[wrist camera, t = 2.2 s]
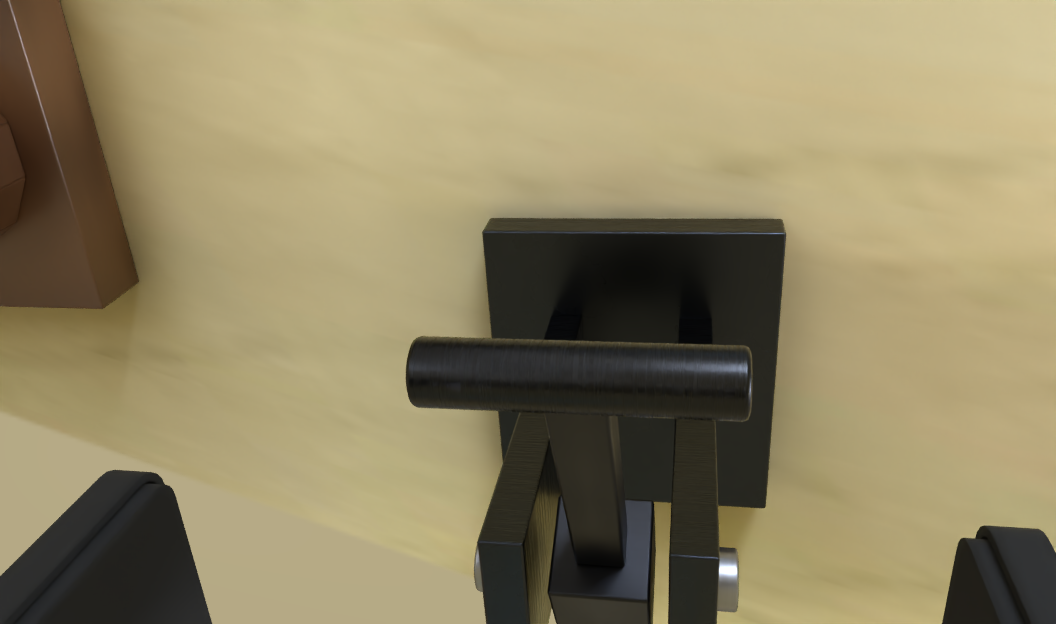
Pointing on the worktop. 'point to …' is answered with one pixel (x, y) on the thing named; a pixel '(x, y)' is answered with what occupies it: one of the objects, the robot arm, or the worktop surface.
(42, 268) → the button box
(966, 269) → the worktop surface
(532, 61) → the worktop surface
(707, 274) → the bracket
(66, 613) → the robot arm
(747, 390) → the lever
